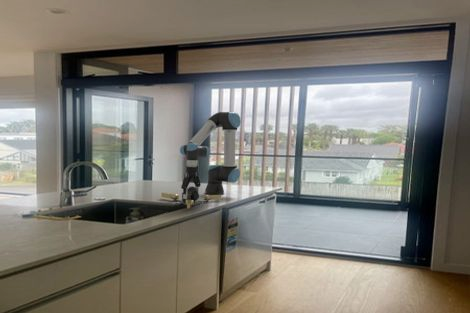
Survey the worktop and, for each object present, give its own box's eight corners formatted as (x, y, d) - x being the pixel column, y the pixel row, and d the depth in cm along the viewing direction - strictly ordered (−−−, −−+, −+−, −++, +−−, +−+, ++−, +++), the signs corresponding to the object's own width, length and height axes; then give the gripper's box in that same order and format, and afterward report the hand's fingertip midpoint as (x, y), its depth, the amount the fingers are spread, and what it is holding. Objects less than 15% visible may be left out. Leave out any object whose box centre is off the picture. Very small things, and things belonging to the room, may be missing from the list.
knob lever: (179, 200, 251) (180, 194, 251) (175, 201, 247) (175, 195, 246) (164, 197, 257) (164, 192, 257) (159, 198, 252) (160, 193, 252)
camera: (195, 203, 237) (195, 188, 236) (180, 202, 239) (181, 187, 238) (200, 200, 250) (201, 185, 249) (186, 199, 252) (187, 185, 251)
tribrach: (190, 196, 270) (190, 190, 269) (221, 200, 258) (222, 194, 257) (153, 205, 232) (153, 198, 231) (188, 211, 220) (189, 203, 219)
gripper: (197, 164, 255) (196, 194, 257) (176, 166, 233) (175, 199, 234) (206, 165, 252) (205, 195, 253) (186, 167, 230) (184, 200, 231)
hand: (190, 197), depth 244 cm, fingers open, 13 cm apart
